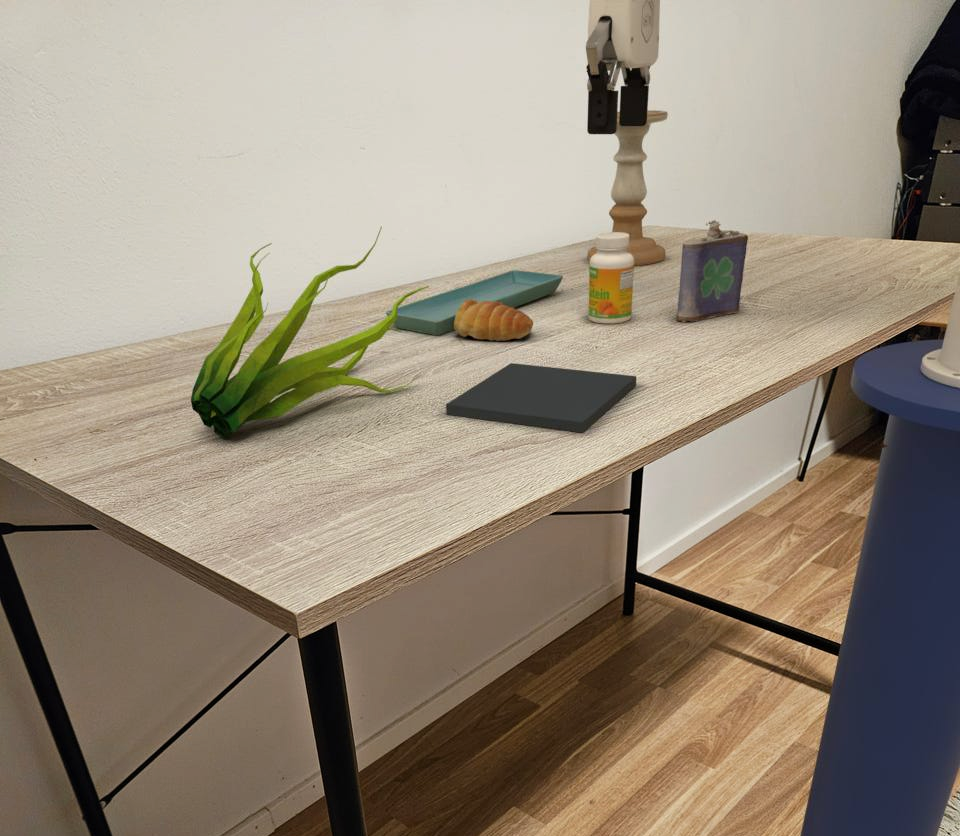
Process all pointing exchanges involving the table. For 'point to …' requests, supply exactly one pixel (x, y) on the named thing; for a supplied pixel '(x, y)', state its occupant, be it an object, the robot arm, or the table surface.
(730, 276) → the flask
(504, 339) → the pastry
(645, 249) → the candle holder
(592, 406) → the mat
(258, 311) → the decorative plant
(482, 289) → the teal serving tray
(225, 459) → the table surface
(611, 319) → the supplement bottle
